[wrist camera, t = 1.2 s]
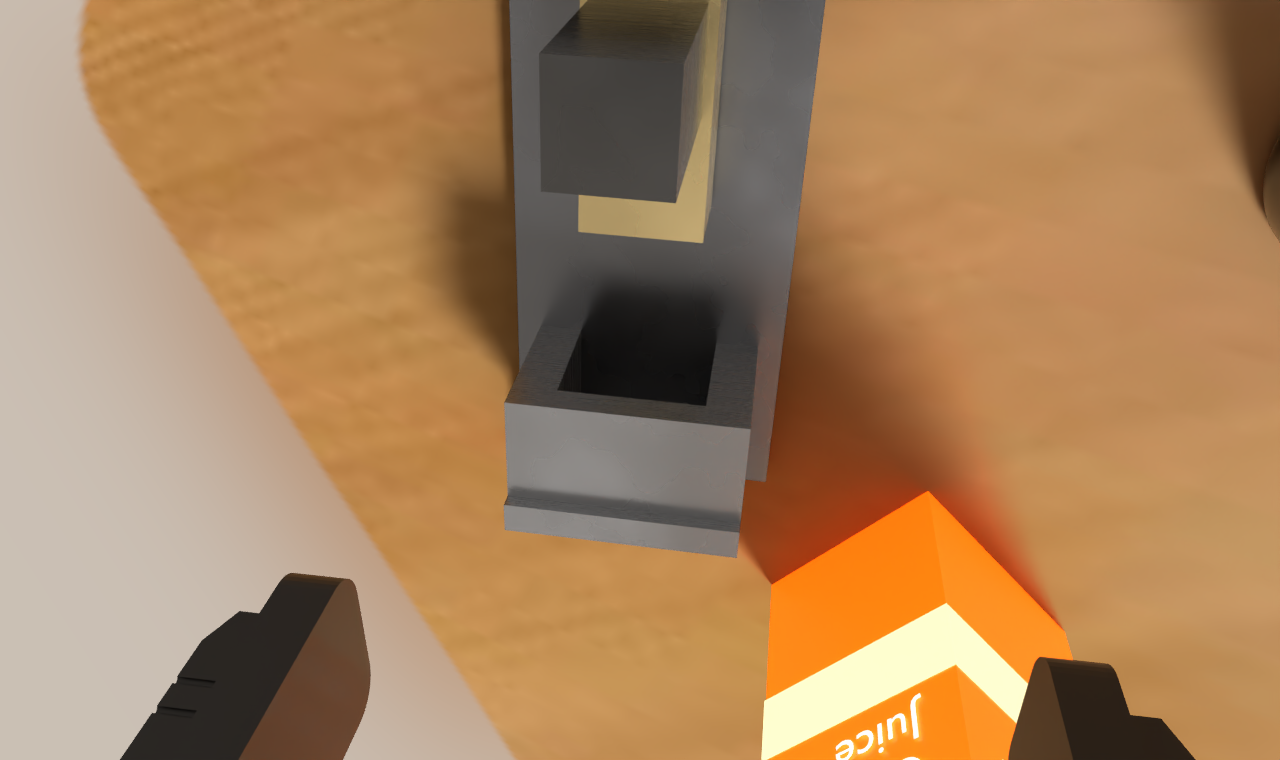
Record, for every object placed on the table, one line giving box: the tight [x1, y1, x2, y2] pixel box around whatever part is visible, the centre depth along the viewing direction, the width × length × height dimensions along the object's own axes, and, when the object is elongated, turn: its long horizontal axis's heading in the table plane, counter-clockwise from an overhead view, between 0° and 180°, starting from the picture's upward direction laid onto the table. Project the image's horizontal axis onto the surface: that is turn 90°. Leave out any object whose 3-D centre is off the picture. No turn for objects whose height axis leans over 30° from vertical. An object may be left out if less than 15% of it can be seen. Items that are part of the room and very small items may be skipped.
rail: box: [504, 0, 825, 558], centre depth 30 cm, size 25×9×6 cm, turn 178°
